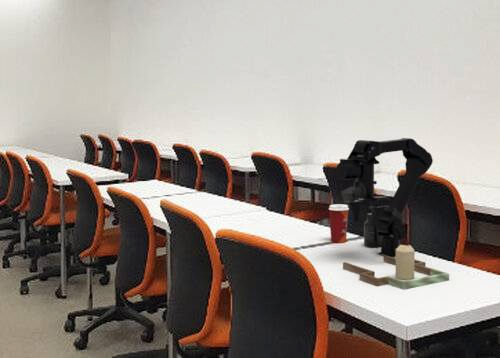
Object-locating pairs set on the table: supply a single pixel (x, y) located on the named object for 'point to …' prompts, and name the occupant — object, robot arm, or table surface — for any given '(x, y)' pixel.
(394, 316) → the table surface
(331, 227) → the paper cup
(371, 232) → the supplement bottle
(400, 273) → the candle
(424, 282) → the trap lane
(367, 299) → the table surface
